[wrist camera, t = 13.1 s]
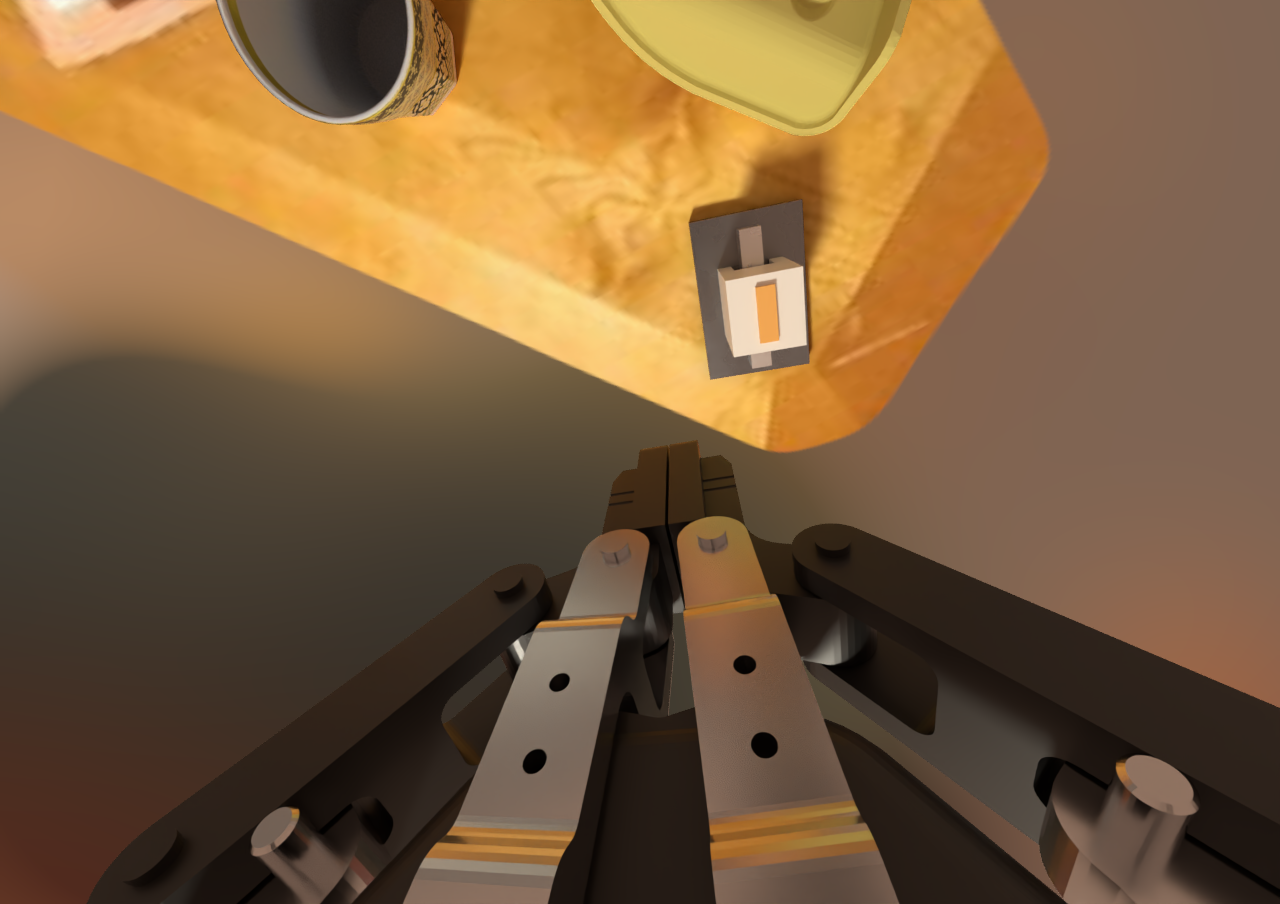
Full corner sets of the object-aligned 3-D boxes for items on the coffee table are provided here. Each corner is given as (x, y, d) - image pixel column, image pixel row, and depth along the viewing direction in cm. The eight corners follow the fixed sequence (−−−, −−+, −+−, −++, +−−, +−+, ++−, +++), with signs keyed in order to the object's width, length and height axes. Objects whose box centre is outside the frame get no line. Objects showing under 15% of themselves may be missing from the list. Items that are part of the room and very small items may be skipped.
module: (717, 269, 37) (725, 281, 31) (782, 256, 36) (804, 266, 30) (725, 334, 39) (734, 358, 33) (786, 323, 38) (807, 346, 32)
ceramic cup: (489, 148, 35) (426, 130, 26) (352, 140, 35) (244, 118, 27) (471, -106, 29) (383, -242, 20) (308, -114, 30) (149, -251, 21)
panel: (688, 222, 36) (689, 224, 34) (799, 199, 35) (809, 199, 33) (709, 375, 42) (712, 387, 39) (806, 359, 41) (815, 370, 38)
